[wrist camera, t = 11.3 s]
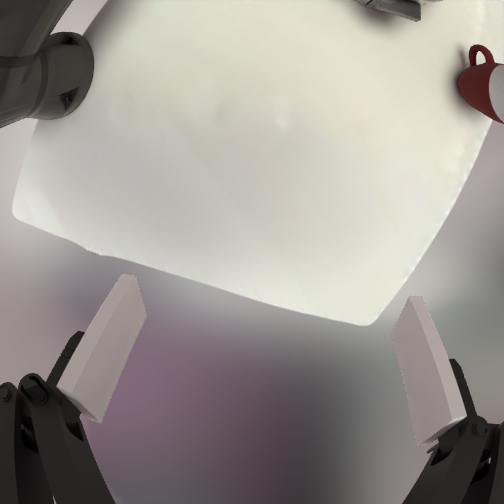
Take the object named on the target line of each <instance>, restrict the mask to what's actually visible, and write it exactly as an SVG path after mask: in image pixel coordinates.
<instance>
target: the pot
mask: <svg viewBox="0 0 504 504" xmlns="http://www.w3.org/2000/svg"><path fill="white" fill-rule="evenodd" d="M356 1H357V2H358V3H360V4H361V5H363V6H364V5H365V7H368V8H372V9H376V10H380V11H383V12H387V13H391V14H395V15H398V16H401V17H404V18H407V19H410V20H413V21H415V22H417V21H420V20H421V13H420V6H422V5H424V4H427V3H423V2H416V1H411V0H356Z"/></svg>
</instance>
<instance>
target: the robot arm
mask: <svg viewBox="0 0 504 504" xmlns="http://www.w3.org/2000/svg"><path fill="white" fill-rule="evenodd" d="M72 1H73V0H0V128H2V127H4V126H7V125H9V124H11V123H14V122H16V121H19V120H21V119H24V118H36V119H43V120H52V119H56V118H59V117H62V116H65V115H67V114H69V113H71V112H72V111H73V110H75V109H76V108H77V107H78V105H79V104H80V103H81V102H82V100H83V99H84V97H85V95H86V93H87V91H88V89H89V87H90V84H91V80H92V76H93V68H94V60H93V53H92V50H91V47H90V45H89V43H88V42H87V40H86V39H85V38H84V37H83V36H81V35H80V34H77V33H73V32H58V33H55V34H52V35H50V34H51V32H52V30H53V29H54V27H55V26H56V24H57V23H58V21H59V20H60V18H61V17H62V15H63V14H64V12H65V11H66V9H67V8H68V7H69V5H70V4H71V2H72ZM146 316H147V314H146V310H145V307H144V304H143V300H142V297H141V293H140V290H139V286H138V282H137V279H136V276H135V275H130V274H122V275H121V276H120V278H119V279H118V281H117V282H116V284H115V285H114V287H113V288H112V290H111V291H110V293H109V295H108V296H107V298H106V299H105V301H104V302H103V304H102V306H101V307H100V309H99V310H98V312H97V314H96V316H95V317H94V319H93V321H92V322H91V324H90V326H89V327H88V329H87V331H86V332H81V331H78V332H77V333H75V334H74V335H73V336H72V337H71V338H70V339H69V341H68V343H67V344H66V346H65V349H64V350H63V351H62V353H61V356H60V357H59V358H58V360H57V362H56V364H55V366H54V368H53V369H52V372H51V373H50V375H49V377H48V379H47V381H46V382H45V381H44V380H43V379H42V378H41V377H40V376H39V375H38V374H35V373H30V374H27V375H26V376H24V377H23V378H22V379H21V380H20V383H19V386H18V389H17V388H16V387H15V386H14V385H13V384H12V383H10V382H6V383H3V384H2V385H0V504H54V500H53V496H54V499H55V501H56V504H116V503H115V501H114V500H113V498H112V496H111V494H110V492H109V490H108V488H107V485H106V484H105V481H104V479H103V477H102V475H101V472H100V470H99V468H98V466H97V463H96V461H95V458H94V456H93V453H92V450H91V448H90V445H89V442H88V440H87V437H86V434H85V431H84V428H83V425H82V422H81V420H80V418H79V416H80V414H81V413H82V414H83V415H84V416H85V417H86V418H88V419H90V420H93V421H96V422H98V423H102V420H103V417H104V415H105V412H106V409H107V407H108V404H109V402H110V399H111V397H112V394H113V391H114V389H115V387H116V384H117V382H118V379H119V377H120V375H121V372H122V370H123V368H124V365H125V363H126V361H127V358H128V356H129V354H130V351H131V349H132V347H133V345H134V342H135V340H136V338H137V336H138V334H139V331H140V329H141V327H142V325H143V323H144V321H145V318H146ZM391 338H392V341H393V345H394V348H395V352H396V355H397V359H398V362H399V366H400V370H401V374H402V378H403V382H404V386H405V391H406V395H407V399H408V404H409V409H410V413H411V418H412V423H413V429H414V434H415V440H416V446H421V445H425V444H429V443H432V442H433V441H434V440H436V439H437V438H438V441H439V443H438V444H436V445H435V446H433V447H432V448H430V449H429V450H428V451H427V453H430V452H431V451H433V453H432V454H431V456H430V458H429V461H428V462H427V464H426V466H425V467H424V469H423V471H422V473H421V474H420V476H419V478H418V480H417V481H416V483H415V485H414V486H413V488H412V489H411V491H410V493H409V494H408V496H407V497H406V499H405V500H404V502H403V503H402V504H504V422H502V423H501V424H489V423H487V421H486V420H485V419H484V418H482V417H480V416H477V413H476V411H475V407H474V404H473V401H472V398H471V395H470V392H469V388H468V386H467V383H466V380H465V379H464V374H463V372H462V369H461V367H460V365H459V364H458V363H457V361H456V360H455V359H448V357H447V354H446V352H445V349H444V346H443V344H442V342H441V339H440V336H439V334H438V332H437V329H436V327H435V325H434V322H433V320H432V318H431V315H430V313H429V311H428V309H427V307H426V305H425V302H424V300H423V298H422V297H415V296H409V298H408V300H407V302H406V304H405V307H404V308H403V310H402V312H401V314H400V316H399V318H398V320H397V322H396V324H395V326H394V328H393V330H392V332H391ZM489 458H491V461H490V464H489Z"/></svg>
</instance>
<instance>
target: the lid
mask: <svg viewBox="0 0 504 504" xmlns="http://www.w3.org/2000/svg"><path fill="white" fill-rule="evenodd" d="M411 1H416V2H423V3H434V2H439V1H442V0H411Z"/></svg>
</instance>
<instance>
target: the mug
mask: <svg viewBox="0 0 504 504" xmlns="http://www.w3.org/2000/svg"><path fill="white" fill-rule="evenodd" d="M478 51H481V52H482V53H483V55H484V56H485V59H486V62H485V63H483V64H480V65H476V55H477V52H478ZM469 62H470V67H469V68H467V69H466V70H465V71H464V72H463V73H462V74H461V76H460V77H459V80H458V87H459V90H460V93H461V94H462V96H463V97H464V99H465V100H466V101H467V102H468V103H469V104H470V105H471V106H472V107H473V108H475V109H477V110H478V111H480V112H482V113H483V114H485V115H486V116H488V117H490V118H491V119H493V120H495V121H497V122H500V123H503V124H504V64H499V63H495V62H494V59H493V56H492V54H491V52H490V51H489V50H488V49H487V48H486V47H484V46H482V45H473V46H471V48H470V50H469Z"/></svg>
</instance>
